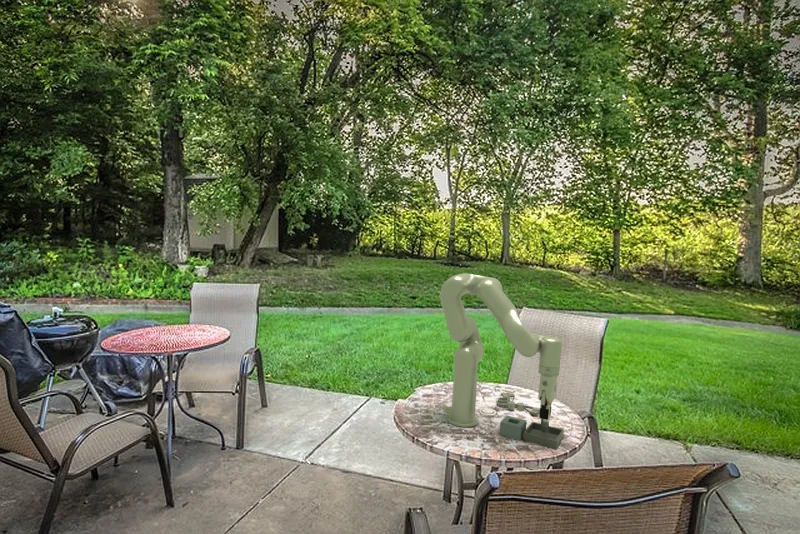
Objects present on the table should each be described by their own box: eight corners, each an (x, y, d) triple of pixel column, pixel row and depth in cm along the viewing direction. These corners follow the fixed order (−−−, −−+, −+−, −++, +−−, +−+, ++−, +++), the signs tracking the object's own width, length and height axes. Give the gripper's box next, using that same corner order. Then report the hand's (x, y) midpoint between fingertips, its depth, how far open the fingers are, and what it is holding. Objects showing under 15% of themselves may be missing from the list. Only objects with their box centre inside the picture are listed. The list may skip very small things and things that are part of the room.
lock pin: (537, 431, 175) (539, 400, 174) (540, 428, 179) (542, 397, 178) (548, 434, 173) (550, 402, 172) (550, 430, 177) (552, 399, 176)
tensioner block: (499, 434, 178) (500, 421, 177) (505, 427, 185) (506, 415, 184) (519, 440, 174) (520, 427, 173) (525, 432, 181) (526, 420, 180)
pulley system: (514, 421, 194) (544, 416, 199) (514, 410, 194) (545, 405, 199) (482, 399, 220) (509, 395, 225) (482, 389, 220) (509, 386, 224)
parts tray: (522, 440, 174) (523, 432, 174) (531, 428, 185) (532, 421, 184) (556, 449, 168) (557, 441, 168) (563, 437, 178) (563, 429, 178)
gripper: (554, 377, 165) (550, 427, 167) (563, 366, 179) (559, 412, 181) (533, 372, 169) (529, 421, 170) (543, 363, 183) (540, 408, 185)
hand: (544, 416), depth 176 cm, fingers closed on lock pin, 3 cm apart
